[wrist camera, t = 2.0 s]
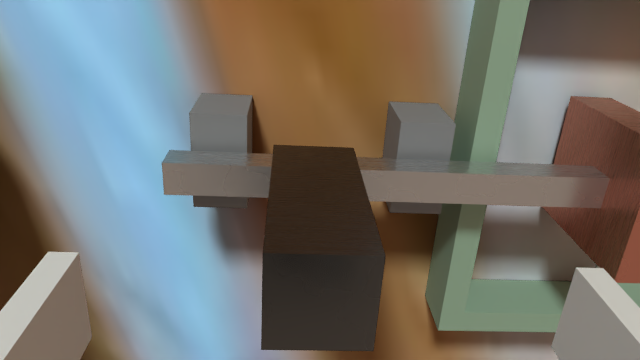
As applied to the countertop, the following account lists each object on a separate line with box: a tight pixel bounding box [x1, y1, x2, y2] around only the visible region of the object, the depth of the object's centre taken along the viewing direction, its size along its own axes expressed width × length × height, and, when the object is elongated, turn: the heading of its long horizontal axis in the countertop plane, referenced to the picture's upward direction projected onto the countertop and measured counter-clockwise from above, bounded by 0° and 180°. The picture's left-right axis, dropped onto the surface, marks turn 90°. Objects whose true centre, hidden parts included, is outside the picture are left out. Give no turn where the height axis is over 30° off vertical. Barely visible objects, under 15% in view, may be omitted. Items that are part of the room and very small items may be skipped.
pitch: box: [189, 0, 640, 332], centre depth 25 cm, size 31×18×3 cm, turn 87°
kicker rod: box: [162, 96, 640, 351], centre depth 20 cm, size 20×6×12 cm, turn 87°
